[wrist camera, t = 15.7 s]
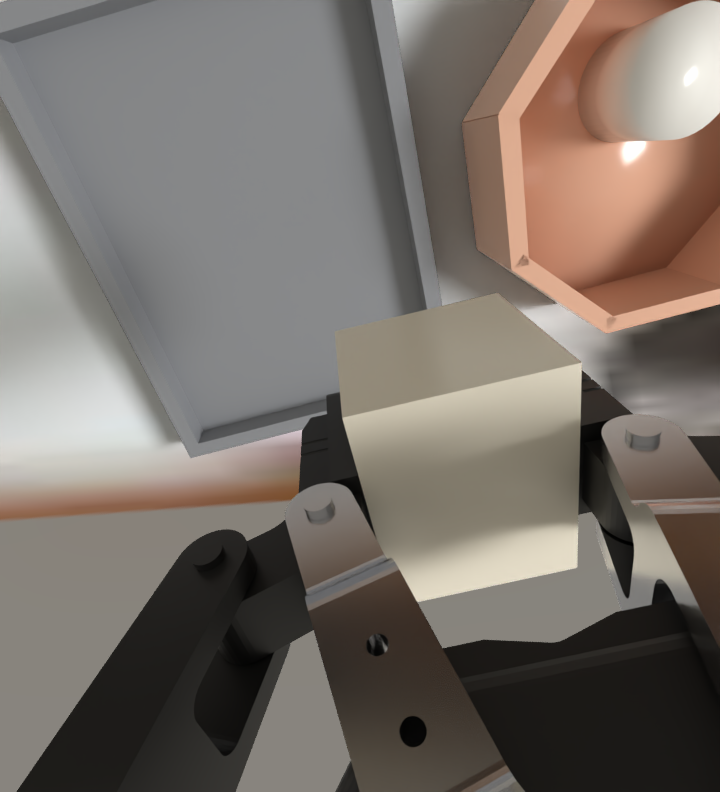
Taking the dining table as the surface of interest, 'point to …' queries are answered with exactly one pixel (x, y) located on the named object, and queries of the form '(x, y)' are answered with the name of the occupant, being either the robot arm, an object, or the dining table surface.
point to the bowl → (589, 180)
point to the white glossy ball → (655, 78)
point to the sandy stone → (465, 443)
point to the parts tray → (229, 188)
